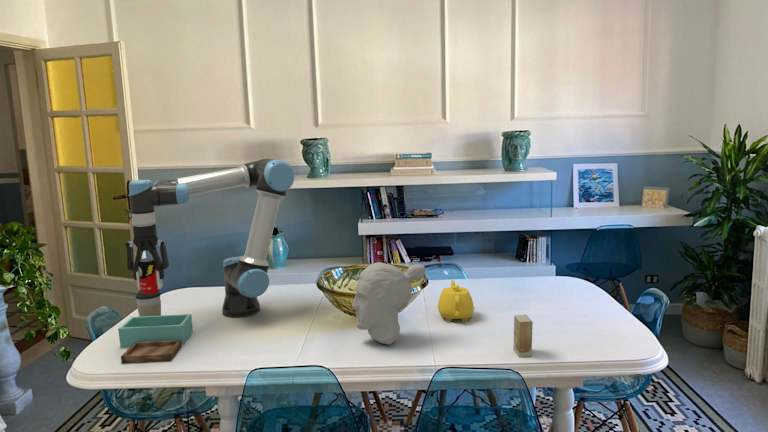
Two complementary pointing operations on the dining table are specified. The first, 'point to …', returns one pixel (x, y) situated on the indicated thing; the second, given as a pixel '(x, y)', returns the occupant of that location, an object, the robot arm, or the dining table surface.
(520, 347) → the skincare box
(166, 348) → the tray
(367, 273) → the bust
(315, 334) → the dining table surface
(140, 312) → the coffee cup
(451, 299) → the teapot
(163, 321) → the teal open box
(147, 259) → the beverage can
